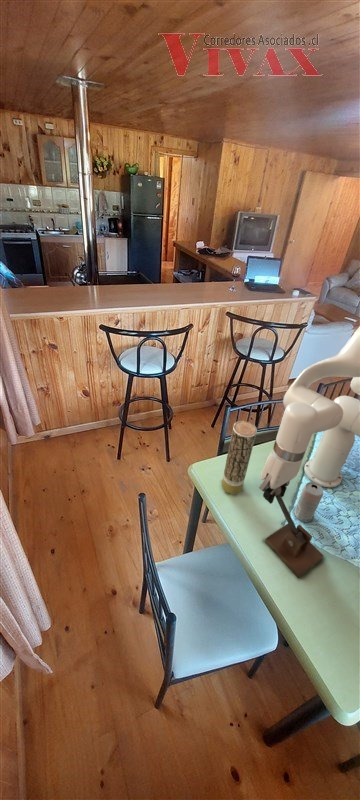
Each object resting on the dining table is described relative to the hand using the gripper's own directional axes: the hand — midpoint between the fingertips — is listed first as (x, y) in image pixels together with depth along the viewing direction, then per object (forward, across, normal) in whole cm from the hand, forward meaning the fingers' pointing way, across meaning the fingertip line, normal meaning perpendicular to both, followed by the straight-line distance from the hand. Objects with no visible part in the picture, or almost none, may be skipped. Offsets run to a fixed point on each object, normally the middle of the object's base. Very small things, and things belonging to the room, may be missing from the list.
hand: (273, 496), depth 92 cm
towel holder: (+11, 0, +11) cm, 16 cm away
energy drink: (+12, -12, +4) cm, 17 cm away
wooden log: (+11, 0, -15) cm, 19 cm away
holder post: (+3, 0, +4) cm, 5 cm away
